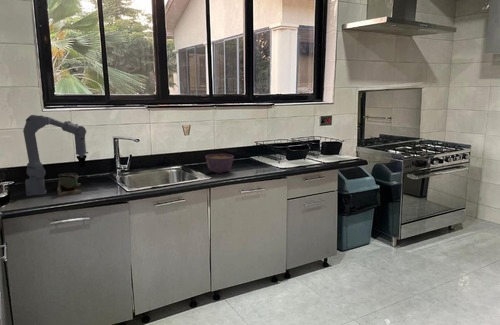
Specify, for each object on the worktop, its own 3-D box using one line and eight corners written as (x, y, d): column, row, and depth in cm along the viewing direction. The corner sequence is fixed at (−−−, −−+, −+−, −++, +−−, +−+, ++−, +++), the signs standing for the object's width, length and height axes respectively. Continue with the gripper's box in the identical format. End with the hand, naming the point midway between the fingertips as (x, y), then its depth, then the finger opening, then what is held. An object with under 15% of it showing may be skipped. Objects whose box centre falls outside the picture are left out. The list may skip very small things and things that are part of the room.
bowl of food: (200, 174, 258) (200, 157, 255) (212, 168, 276) (212, 153, 274) (227, 176, 251) (227, 159, 249) (238, 170, 270) (237, 154, 268)
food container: (84, 190, 218) (83, 173, 216) (76, 192, 212) (75, 175, 210) (67, 188, 222) (65, 172, 220) (59, 191, 216) (57, 174, 214)
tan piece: (58, 197, 204) (57, 190, 203) (59, 186, 225) (58, 180, 224) (81, 194, 209) (80, 187, 208) (80, 184, 230) (80, 178, 229)
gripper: (88, 146, 224) (89, 168, 227) (87, 143, 237) (89, 164, 240) (75, 147, 221) (77, 169, 224) (74, 144, 234) (77, 165, 237)
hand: (82, 167), depth 231 cm, fingers closed
